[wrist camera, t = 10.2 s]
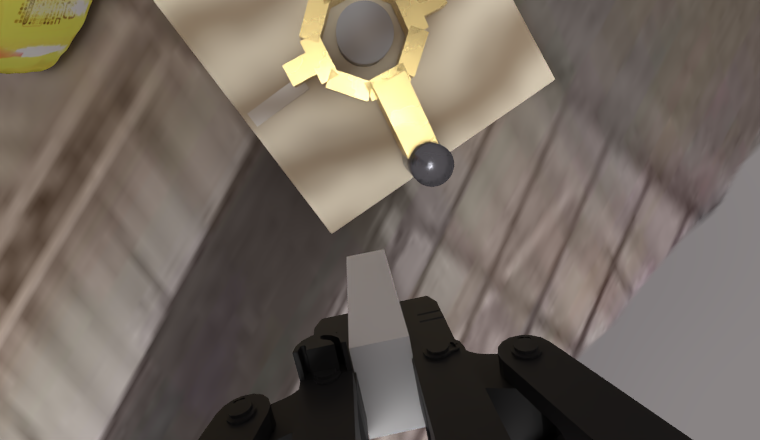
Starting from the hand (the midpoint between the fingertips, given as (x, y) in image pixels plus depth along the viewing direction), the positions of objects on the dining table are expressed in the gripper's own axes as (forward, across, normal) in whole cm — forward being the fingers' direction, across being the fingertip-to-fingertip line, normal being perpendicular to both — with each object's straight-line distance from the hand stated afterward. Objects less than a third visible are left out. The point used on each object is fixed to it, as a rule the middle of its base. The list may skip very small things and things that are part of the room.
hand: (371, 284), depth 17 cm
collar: (+19, +4, +8) cm, 21 cm away
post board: (+21, +3, +11) cm, 24 cm away
